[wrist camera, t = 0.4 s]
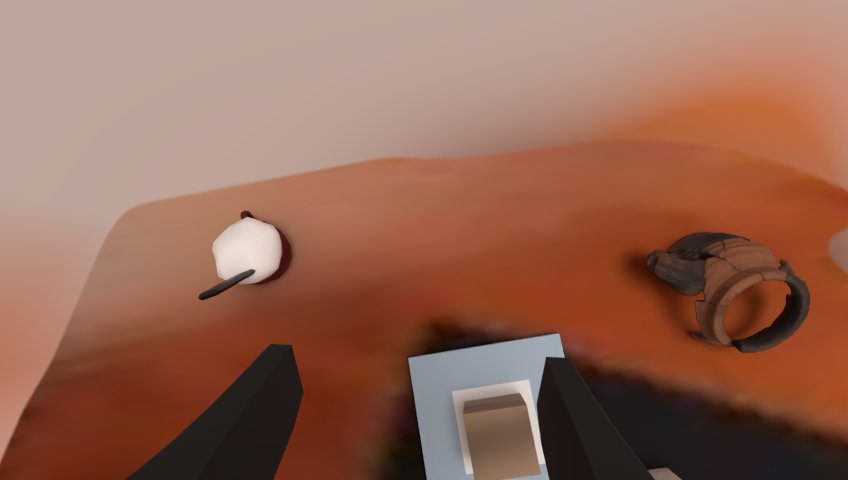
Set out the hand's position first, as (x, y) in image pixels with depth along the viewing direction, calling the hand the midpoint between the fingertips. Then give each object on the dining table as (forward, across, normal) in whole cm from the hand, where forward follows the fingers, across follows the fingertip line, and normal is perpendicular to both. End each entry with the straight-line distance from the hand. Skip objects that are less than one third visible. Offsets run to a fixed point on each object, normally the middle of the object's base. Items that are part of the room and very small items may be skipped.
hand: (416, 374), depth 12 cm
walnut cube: (+15, -5, +24) cm, 29 cm away
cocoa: (+26, +18, +15) cm, 35 cm away
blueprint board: (+16, -5, +25) cm, 30 cm away
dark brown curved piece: (+24, -23, +14) cm, 36 cm away
